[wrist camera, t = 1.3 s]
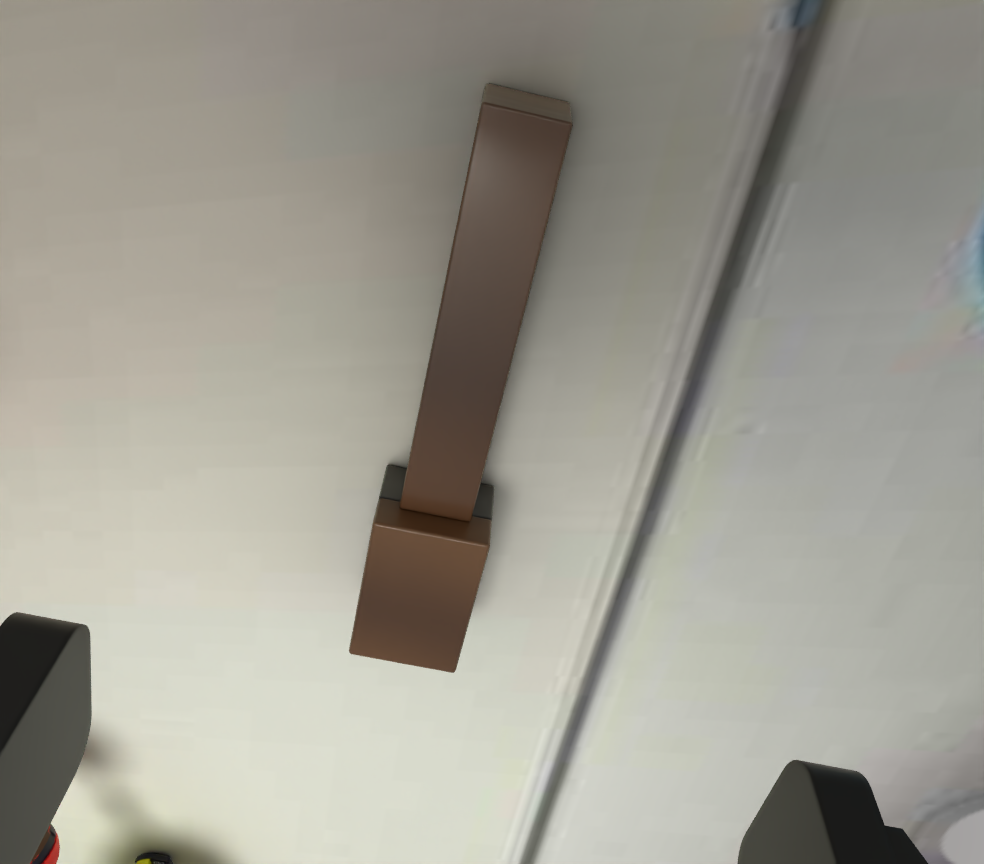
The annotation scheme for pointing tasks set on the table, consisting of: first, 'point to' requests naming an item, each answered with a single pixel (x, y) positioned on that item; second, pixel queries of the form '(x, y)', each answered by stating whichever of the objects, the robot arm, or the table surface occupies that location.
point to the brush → (462, 393)
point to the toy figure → (50, 846)
